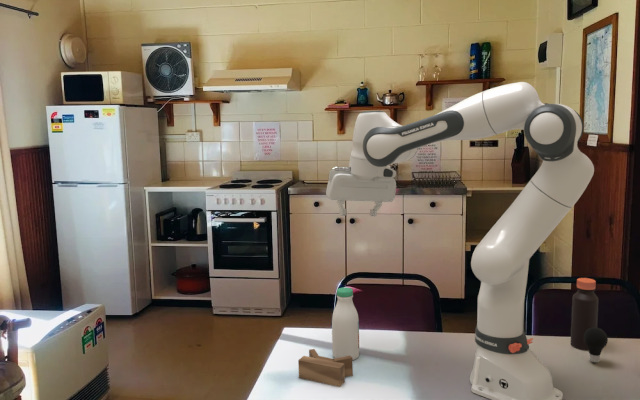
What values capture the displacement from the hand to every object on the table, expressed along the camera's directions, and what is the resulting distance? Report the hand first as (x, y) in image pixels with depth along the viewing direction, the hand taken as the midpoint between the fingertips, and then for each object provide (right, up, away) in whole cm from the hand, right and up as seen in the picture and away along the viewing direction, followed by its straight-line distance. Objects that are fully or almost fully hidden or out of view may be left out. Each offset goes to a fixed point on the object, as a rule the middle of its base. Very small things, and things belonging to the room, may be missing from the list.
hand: (357, 215), depth 155 cm
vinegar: (+67, -39, +4) cm, 77 cm away
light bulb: (+64, -40, -7) cm, 76 cm away
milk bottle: (-3, -41, +2) cm, 41 cm away
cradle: (-9, -42, -10) cm, 45 cm away
